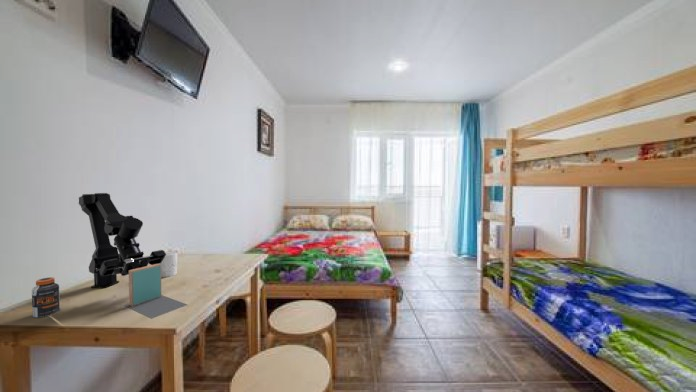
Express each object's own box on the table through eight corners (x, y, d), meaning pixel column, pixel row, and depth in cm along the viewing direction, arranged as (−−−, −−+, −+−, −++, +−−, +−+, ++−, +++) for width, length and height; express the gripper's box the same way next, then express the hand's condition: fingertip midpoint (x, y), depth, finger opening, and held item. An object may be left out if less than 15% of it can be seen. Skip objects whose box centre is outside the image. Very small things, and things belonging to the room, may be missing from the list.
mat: (123, 306, 93) (123, 305, 93) (158, 294, 103) (158, 293, 103) (151, 319, 84) (151, 318, 84) (187, 305, 93) (187, 304, 93)
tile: (129, 305, 93) (128, 270, 92) (158, 295, 101) (158, 263, 100) (132, 306, 92) (131, 271, 91) (161, 297, 100) (161, 264, 99)
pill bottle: (35, 319, 84) (33, 283, 84) (30, 315, 88) (28, 280, 87) (62, 312, 89) (60, 277, 89) (57, 307, 93) (55, 274, 92)
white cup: (182, 273, 128) (181, 252, 128) (166, 278, 121) (165, 256, 120) (169, 271, 131) (169, 250, 130) (153, 276, 123) (152, 254, 123)
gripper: (148, 254, 113) (164, 285, 108) (89, 266, 97) (104, 303, 92) (158, 237, 109) (174, 268, 104) (97, 246, 93) (113, 284, 88)
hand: (143, 281), depth 97 cm, fingers closed
